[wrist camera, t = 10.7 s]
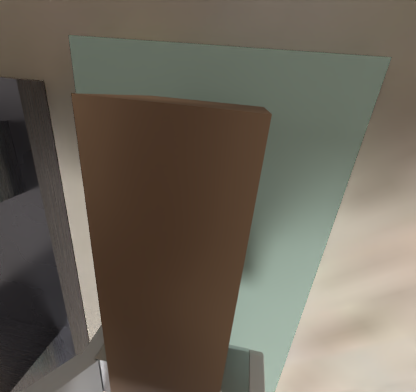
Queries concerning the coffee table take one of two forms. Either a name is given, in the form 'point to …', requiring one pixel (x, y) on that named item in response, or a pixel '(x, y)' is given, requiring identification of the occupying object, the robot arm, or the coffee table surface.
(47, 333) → the hook stand
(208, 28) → the coffee table surface
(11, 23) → the coffee table surface
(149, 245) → the rail
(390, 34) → the coffee table surface
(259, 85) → the mat
